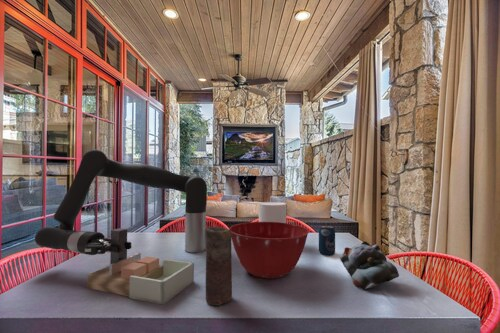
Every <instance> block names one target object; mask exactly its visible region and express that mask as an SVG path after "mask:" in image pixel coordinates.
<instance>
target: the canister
mask: <svg viewBox="0 0 500 333" xmlns="http://www.w3.org/2000/svg"><path fill="white" fill-rule="evenodd" d="M258 222H280V223H287V202H283V201H281V202H280V201H262V202H258Z"/></svg>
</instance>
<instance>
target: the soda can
mask: <svg viewBox="0 0 500 333" xmlns="http://www.w3.org/2000/svg"><path fill="white" fill-rule="evenodd" d="M318 253H319V254H320V256H321V255H322V256H325V257H332V256H334V255H335V254H336V230H335V227H334V226H333V225H330V224H329V225H328V224H322V225H319V229H318Z"/></svg>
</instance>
